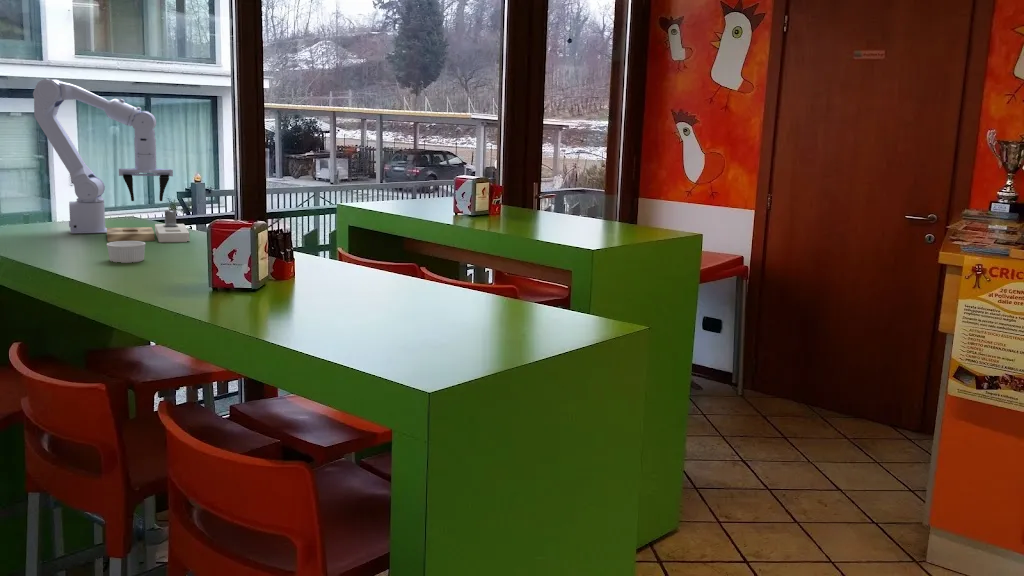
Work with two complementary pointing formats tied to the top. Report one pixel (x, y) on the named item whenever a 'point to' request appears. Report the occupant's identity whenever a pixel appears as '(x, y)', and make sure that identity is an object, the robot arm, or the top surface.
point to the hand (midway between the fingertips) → (146, 200)
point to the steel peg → (170, 218)
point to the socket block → (130, 234)
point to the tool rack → (172, 233)
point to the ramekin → (126, 251)
